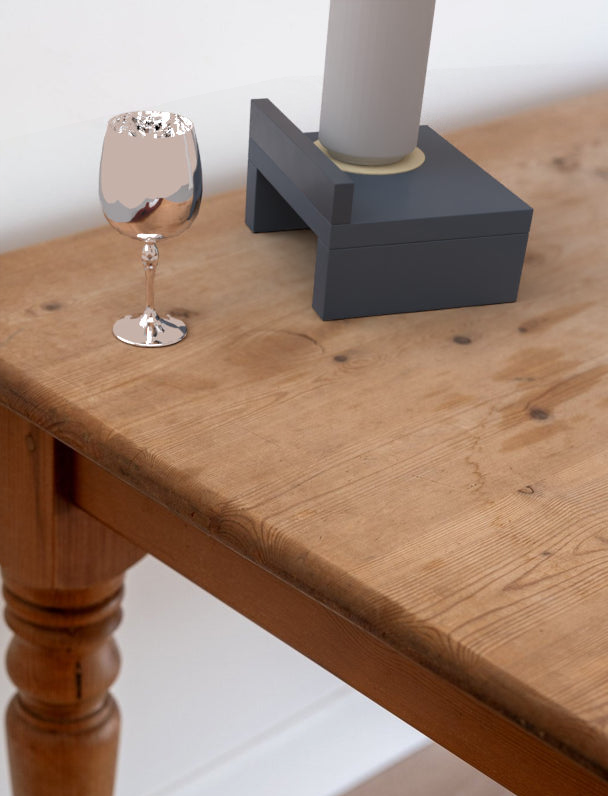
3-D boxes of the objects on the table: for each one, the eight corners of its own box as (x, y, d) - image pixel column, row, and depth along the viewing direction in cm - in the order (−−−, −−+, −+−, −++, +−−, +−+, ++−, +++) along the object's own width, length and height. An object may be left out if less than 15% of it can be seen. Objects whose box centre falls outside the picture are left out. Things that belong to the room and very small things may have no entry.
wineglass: (214, 321, 78) (221, 118, 71) (172, 360, 74) (175, 148, 67) (129, 301, 80) (128, 101, 73) (83, 338, 76) (77, 130, 68)
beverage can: (297, 148, 85) (311, -53, 78) (366, 130, 88) (386, -64, 81) (366, 177, 81) (389, -32, 74) (436, 157, 84) (464, -45, 77)
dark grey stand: (416, 208, 94) (432, 88, 89) (516, 302, 82) (541, 169, 76) (244, 222, 91) (250, 98, 86) (322, 321, 79) (335, 184, 73)
